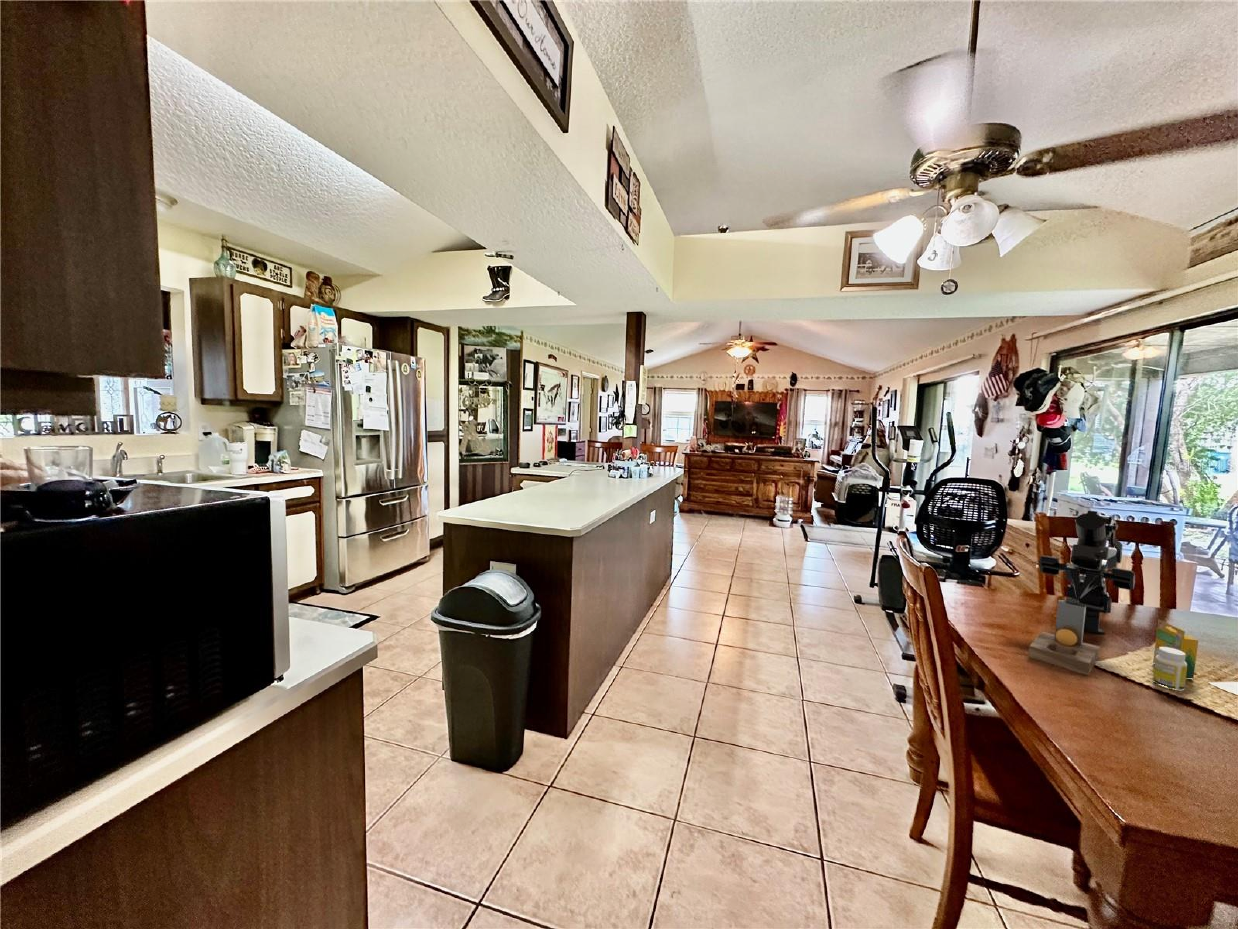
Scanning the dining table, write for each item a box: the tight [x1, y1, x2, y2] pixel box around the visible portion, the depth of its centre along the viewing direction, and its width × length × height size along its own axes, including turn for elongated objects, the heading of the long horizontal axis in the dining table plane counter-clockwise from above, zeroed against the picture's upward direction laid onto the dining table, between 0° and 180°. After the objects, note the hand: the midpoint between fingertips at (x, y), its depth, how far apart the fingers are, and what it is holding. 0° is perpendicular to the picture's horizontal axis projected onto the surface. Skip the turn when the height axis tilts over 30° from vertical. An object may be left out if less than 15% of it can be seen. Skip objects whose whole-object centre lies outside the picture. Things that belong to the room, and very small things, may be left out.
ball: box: [1056, 629, 1077, 646], centre depth 121 cm, size 4×4×4 cm
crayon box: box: [1152, 619, 1199, 679], centre depth 114 cm, size 7×3×12 cm, turn 166°
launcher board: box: [1027, 631, 1100, 676], centre depth 121 cm, size 14×11×3 cm
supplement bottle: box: [1152, 647, 1187, 690], centre depth 108 cm, size 5×5×8 cm
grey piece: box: [1054, 596, 1086, 645], centre depth 123 cm, size 2×5×11 cm, turn 38°
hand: (1078, 597), depth 128 cm, fingers closed
